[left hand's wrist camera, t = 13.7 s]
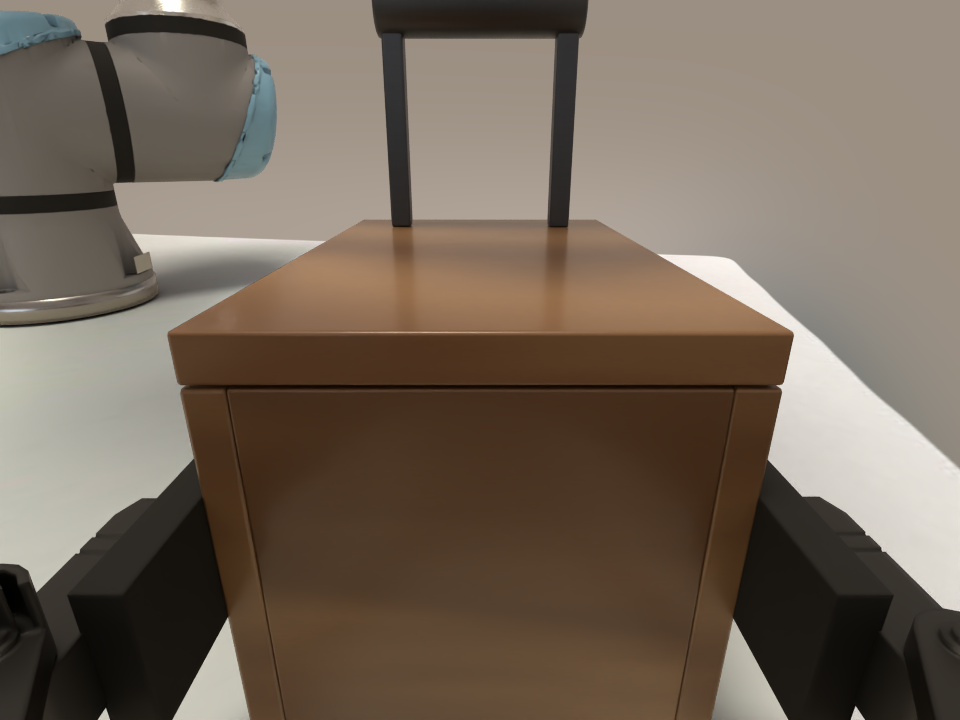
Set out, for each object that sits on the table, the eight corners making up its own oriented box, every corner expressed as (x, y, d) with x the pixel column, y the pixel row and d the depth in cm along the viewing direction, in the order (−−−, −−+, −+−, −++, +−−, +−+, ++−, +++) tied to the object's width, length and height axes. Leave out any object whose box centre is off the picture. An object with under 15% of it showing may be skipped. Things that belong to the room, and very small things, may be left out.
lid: (364, 241, 23) (346, -8, 20) (595, 241, 23) (613, -7, 20) (176, 387, 9) (1, -422, 5) (784, 386, 9) (959, -420, 5)
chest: (378, 452, 26) (362, 244, 22) (581, 452, 26) (597, 244, 22) (263, 792, 12) (176, 389, 9) (697, 792, 12) (785, 390, 9)
